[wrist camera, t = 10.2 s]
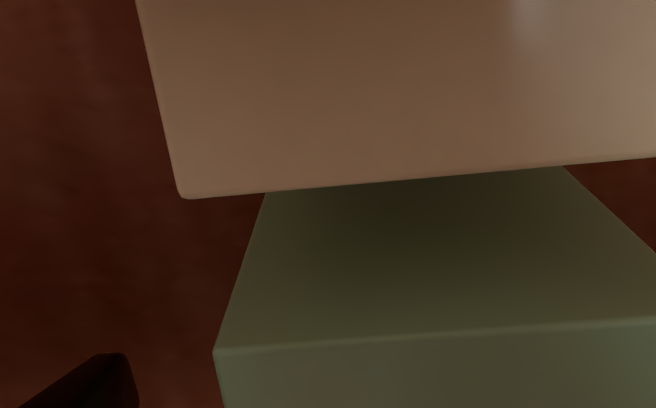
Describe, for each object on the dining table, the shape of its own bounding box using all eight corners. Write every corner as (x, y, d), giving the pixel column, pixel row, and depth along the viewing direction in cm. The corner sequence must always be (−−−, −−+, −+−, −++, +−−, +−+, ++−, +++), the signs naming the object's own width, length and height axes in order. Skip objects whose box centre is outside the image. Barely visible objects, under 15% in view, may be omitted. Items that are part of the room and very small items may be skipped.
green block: (540, 379, 11) (663, 641, 7) (303, 396, 11) (279, 657, 7) (550, 151, 9) (726, 313, 5) (268, 178, 9) (208, 352, 5)
